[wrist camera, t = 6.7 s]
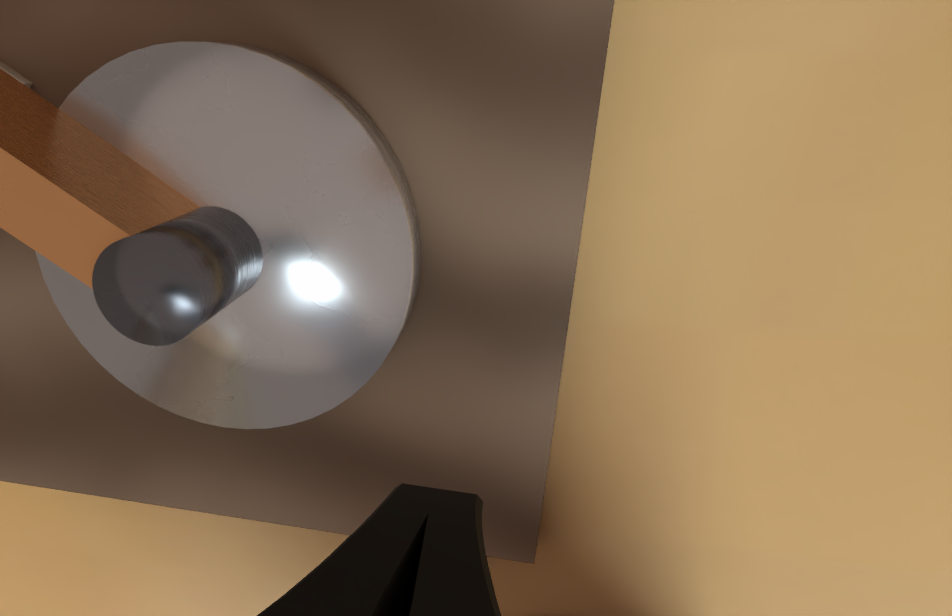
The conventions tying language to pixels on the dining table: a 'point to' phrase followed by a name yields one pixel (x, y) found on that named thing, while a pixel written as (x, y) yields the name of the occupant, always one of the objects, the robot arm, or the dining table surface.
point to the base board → (440, 283)
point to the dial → (215, 228)
